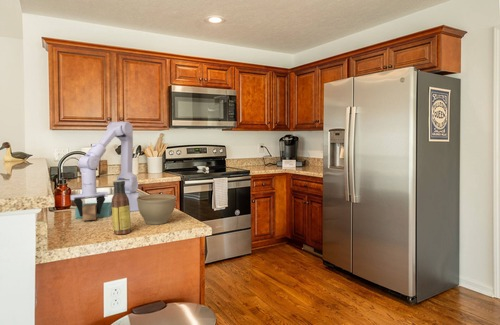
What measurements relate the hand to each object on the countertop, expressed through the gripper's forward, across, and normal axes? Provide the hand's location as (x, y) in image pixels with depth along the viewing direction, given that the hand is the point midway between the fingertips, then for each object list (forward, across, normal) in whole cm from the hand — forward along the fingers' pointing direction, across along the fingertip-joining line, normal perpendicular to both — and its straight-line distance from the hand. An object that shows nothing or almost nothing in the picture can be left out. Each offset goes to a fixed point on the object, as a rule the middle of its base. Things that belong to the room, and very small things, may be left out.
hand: (90, 214), depth 149 cm
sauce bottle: (+3, -4, +29) cm, 29 cm away
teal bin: (+2, -5, -11) cm, 12 cm away
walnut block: (+2, 0, 0) cm, 2 cm away
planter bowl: (+3, -21, +21) cm, 30 cm away
